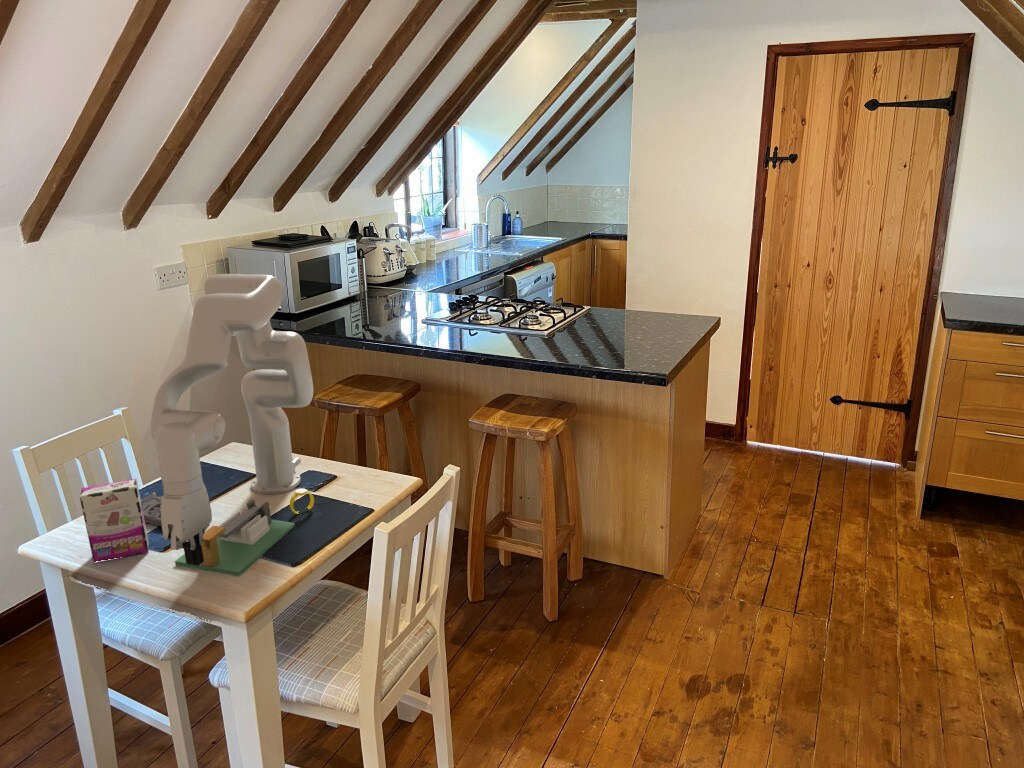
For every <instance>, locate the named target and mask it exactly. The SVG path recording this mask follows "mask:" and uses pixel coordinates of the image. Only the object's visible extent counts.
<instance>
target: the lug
mask: <svg viewBox="0 0 1024 768" xmlns="http://www.w3.org/2000/svg"><path fill="white" fill-rule="evenodd" d="M224 532H226V529H225V527H220V525H212V526H210V527H208V528H207V529H206V530H205V532H204V535H203V544H201V545H202V551H203V557H204V562H203V563H201V565H204V566H210V567H213V566H215V565H216V564H217V563H218V562H219V561H220V559H219V552H218V545H217V538H218V537H219V536H221V535H222V534H223V533H224Z"/></svg>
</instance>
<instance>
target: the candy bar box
mask: <svg viewBox="0 0 1024 768" xmlns="http://www.w3.org/2000/svg"><path fill="white" fill-rule="evenodd" d="M139 490H140V489H139V485H138V480H137V478H133V479H127V480H122V481H121V480H120V481H116V482H110V483H104V484H98V485H94V486H86V487H82V488H81V491H80V495H79V500H80V505H81V510H82V514H83V518H84V523H85V528H86V532H87V533H86V534H87V537H88V542H89V546H90V552H91V557H92V561H93V563H94V562H96V561H101V560H108V559H114V558H119V559H121V558H120V557H124V558H128V556H129V557H134V556H137V555H142V554H147V553H149V545H150V543H149V542H150V541H149V537H148V531H147V526H146V522H145V520H144V514H143V509H142V502H141V500H142V499H141V495H140V491H139ZM133 555H134V556H133ZM114 560H115V559H114Z"/></svg>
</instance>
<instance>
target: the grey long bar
mask: <svg viewBox="0 0 1024 768" xmlns="http://www.w3.org/2000/svg"><path fill="white" fill-rule="evenodd" d="M261 505H262V504H256V503H255V504H254V505H253V506H252V507H250V508H249V509H246V510H245V511H244V512H243V513H240V516H238V517H237V518H236V519H235V520H233V521H232V522H231V523H229V524H228V525H227V526H225V529H226V532H224V533H223V534H222V535H221V536H219V537H223V538H227V537H228V536H230V535H231V534H232V533H233V532H235V531H236V530H237V529H238V528H240V527H241V526H242V525H244V524H245V523H246V522H247V521H249V520H250V519H251V518H252V517H254V516H255V515H256V514H257V513H259V512H260V511H261Z"/></svg>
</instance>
